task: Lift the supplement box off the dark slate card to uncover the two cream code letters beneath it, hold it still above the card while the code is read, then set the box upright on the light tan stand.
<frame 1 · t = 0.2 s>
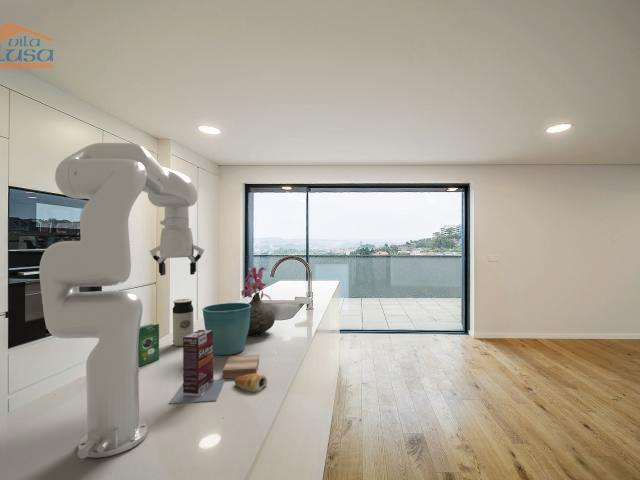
hand: (177, 274, 119), 31 cm above the worktop, tool pointing down, fingers open, 9 cm apart
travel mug: (183, 343, 146), on the worktop
code card: (199, 391, 99), on the worktop
vase: (256, 333, 159), on the worktop
supplement box: (199, 390, 99), resting on code card
flower pot: (227, 351, 135), on the worktop
light tan stand: (242, 369, 114), on the worktop
coffee box: (147, 363, 123), on the worktop
pastry: (251, 388, 101), on the worktop
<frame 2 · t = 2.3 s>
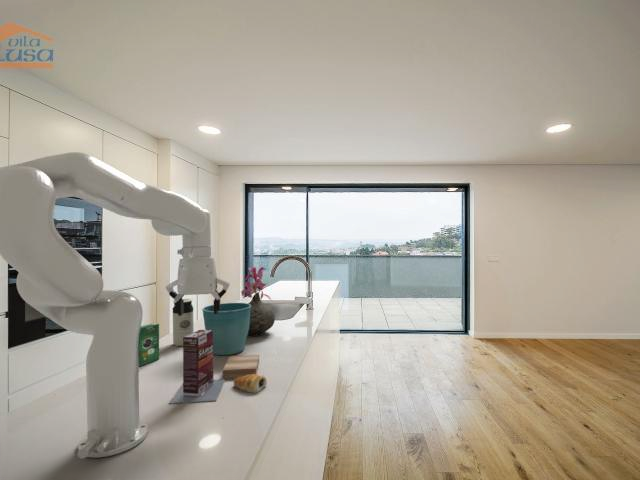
hand: (198, 313, 99), 22 cm above the worktop, tool pointing down, fingers open, 9 cm apart
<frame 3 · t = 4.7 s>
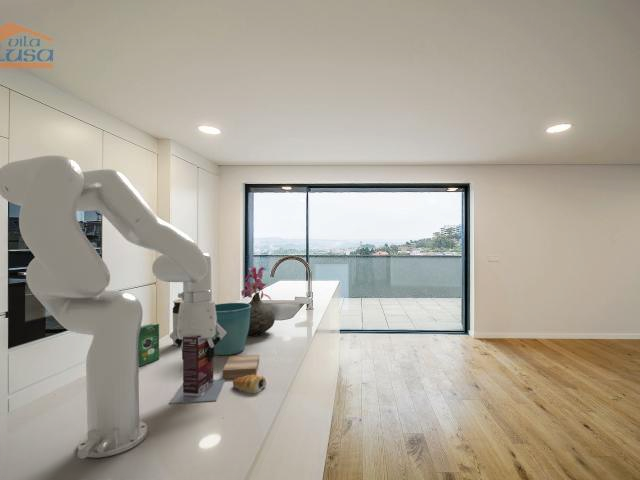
hand: (198, 360, 99), 9 cm above the worktop, tool pointing down, fingers closed on supplement box, 5 cm apart
supplement box: (199, 390, 99), resting on code card, touching gripper
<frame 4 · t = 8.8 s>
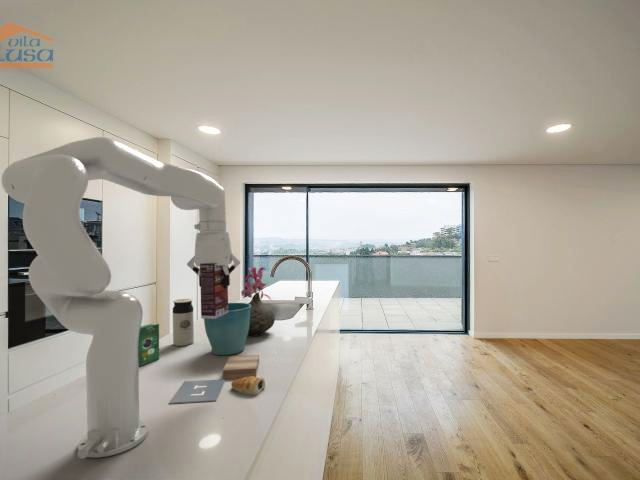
hand: (214, 288, 104), 28 cm above the worktop, tool pointing down, fingers closed on supplement box, 5 cm apart
supplement box: (215, 316, 105), point 20 cm above the worktop, touching gripper
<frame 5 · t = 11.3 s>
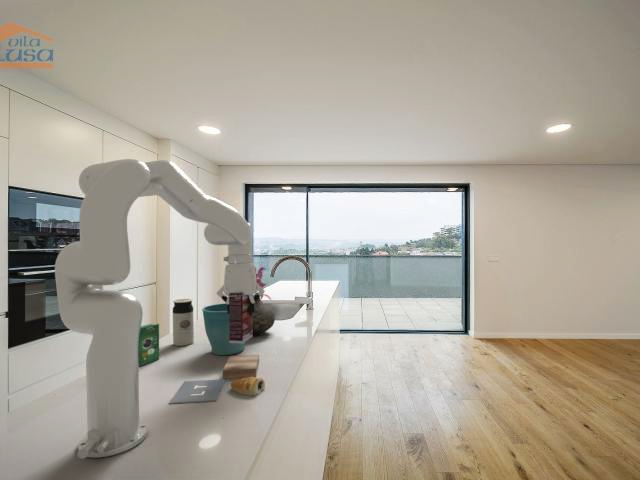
hand: (241, 314, 115), 18 cm above the worktop, tool pointing down, fingers closed on supplement box, 5 cm apart
supplement box: (241, 340, 115), point 9 cm above the worktop, touching gripper
when the fingers open (12 cm above the worktop, at t = 13.2 s): supplement box drops 2 cm, resting on light tan stand.
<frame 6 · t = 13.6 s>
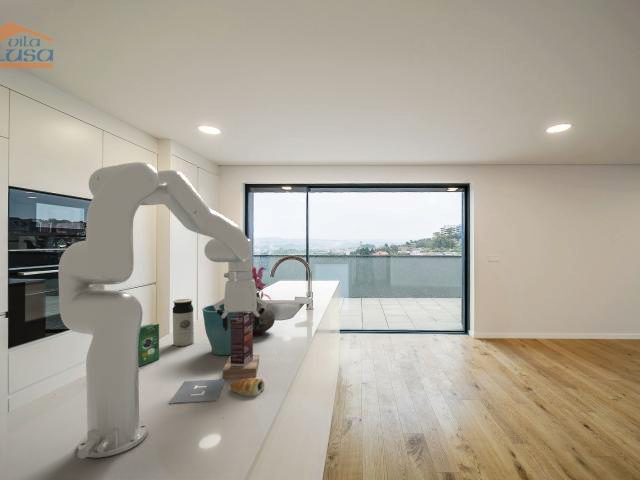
hand: (241, 329, 114), 13 cm above the worktop, tool pointing down, fingers open, 9 cm apart
supplement box: (242, 362, 114), point 2 cm above the worktop, touching light tan stand
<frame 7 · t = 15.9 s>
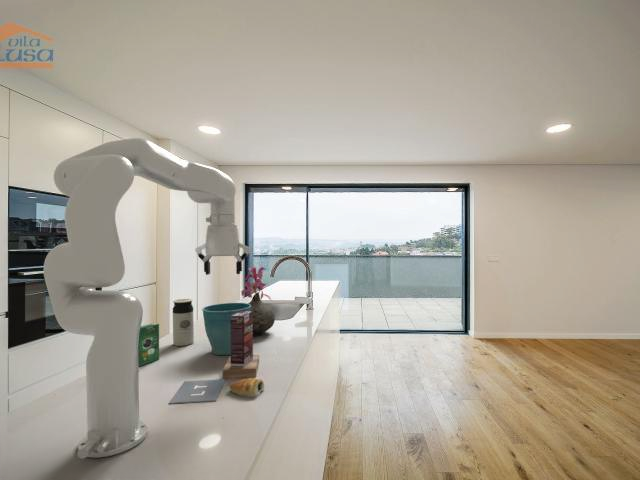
hand: (223, 274, 113), 31 cm above the worktop, tool pointing down, fingers open, 9 cm apart
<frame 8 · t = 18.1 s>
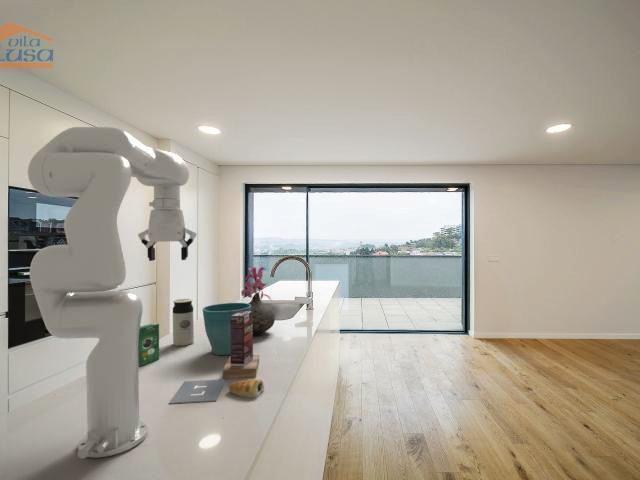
hand: (168, 260, 110), 36 cm above the worktop, tool pointing down, fingers open, 9 cm apart
at the end: supplement box 0.2 cm off-centre on the light tan stand, point 2.3 cm above the light tan stand's base; supplement box tilted 0°; the gripper is holding nothing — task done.
